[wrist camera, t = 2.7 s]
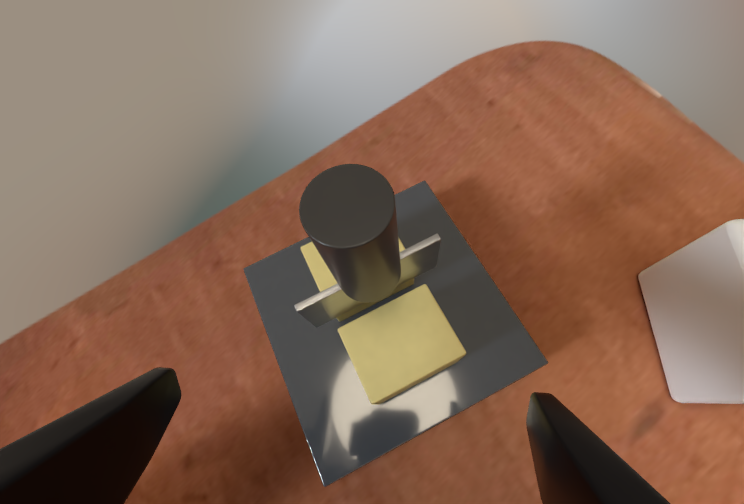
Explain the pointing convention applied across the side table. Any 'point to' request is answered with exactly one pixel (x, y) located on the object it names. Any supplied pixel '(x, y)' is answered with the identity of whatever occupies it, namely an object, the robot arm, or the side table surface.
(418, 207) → the butter dish
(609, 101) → the side table surface
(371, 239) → the knife
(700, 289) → the white canister
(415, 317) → the butter
